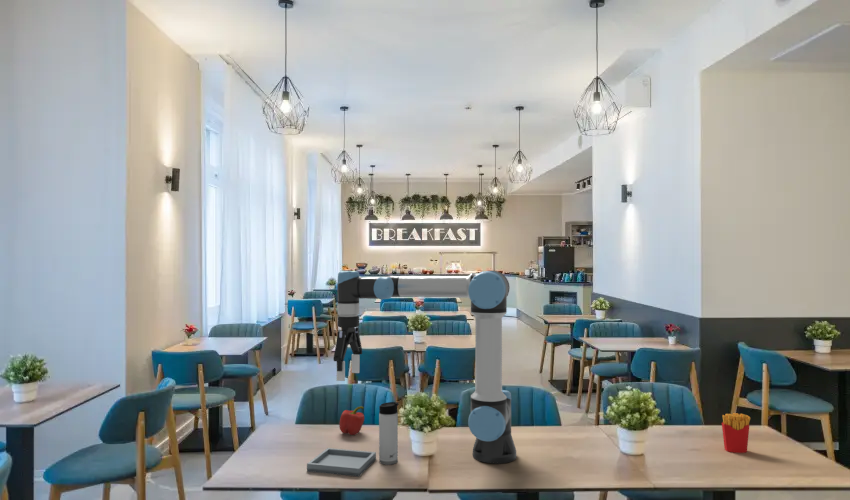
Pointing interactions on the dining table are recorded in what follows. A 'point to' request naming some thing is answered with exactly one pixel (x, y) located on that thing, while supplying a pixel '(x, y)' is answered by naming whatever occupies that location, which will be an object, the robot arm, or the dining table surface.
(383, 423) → the travel mug
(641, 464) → the dining table surface
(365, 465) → the tray
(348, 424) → the vegetable
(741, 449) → the french fries
